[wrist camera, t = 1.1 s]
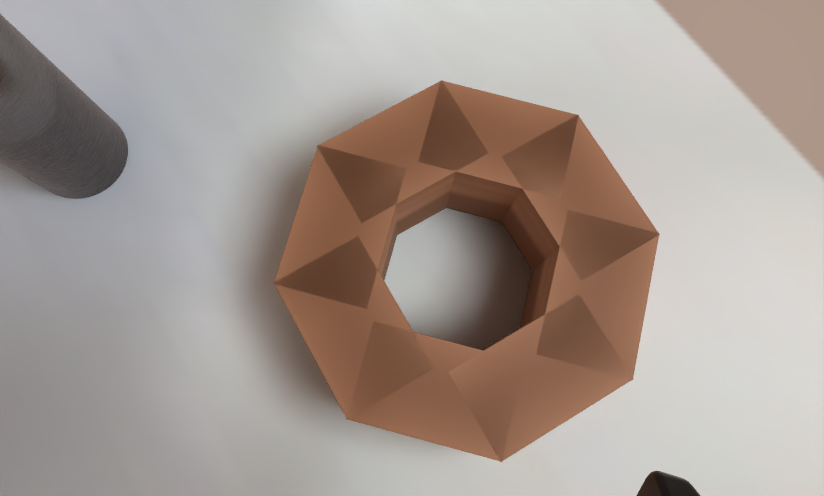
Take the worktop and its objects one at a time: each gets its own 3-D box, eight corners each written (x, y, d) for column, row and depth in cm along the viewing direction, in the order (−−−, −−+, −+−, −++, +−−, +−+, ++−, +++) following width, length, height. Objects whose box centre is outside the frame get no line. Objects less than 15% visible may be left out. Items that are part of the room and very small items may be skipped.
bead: (574, 474, 22) (612, 492, 18) (267, 390, 22) (239, 389, 18) (631, 180, 24) (677, 139, 20) (354, 109, 24) (345, 56, 21)
